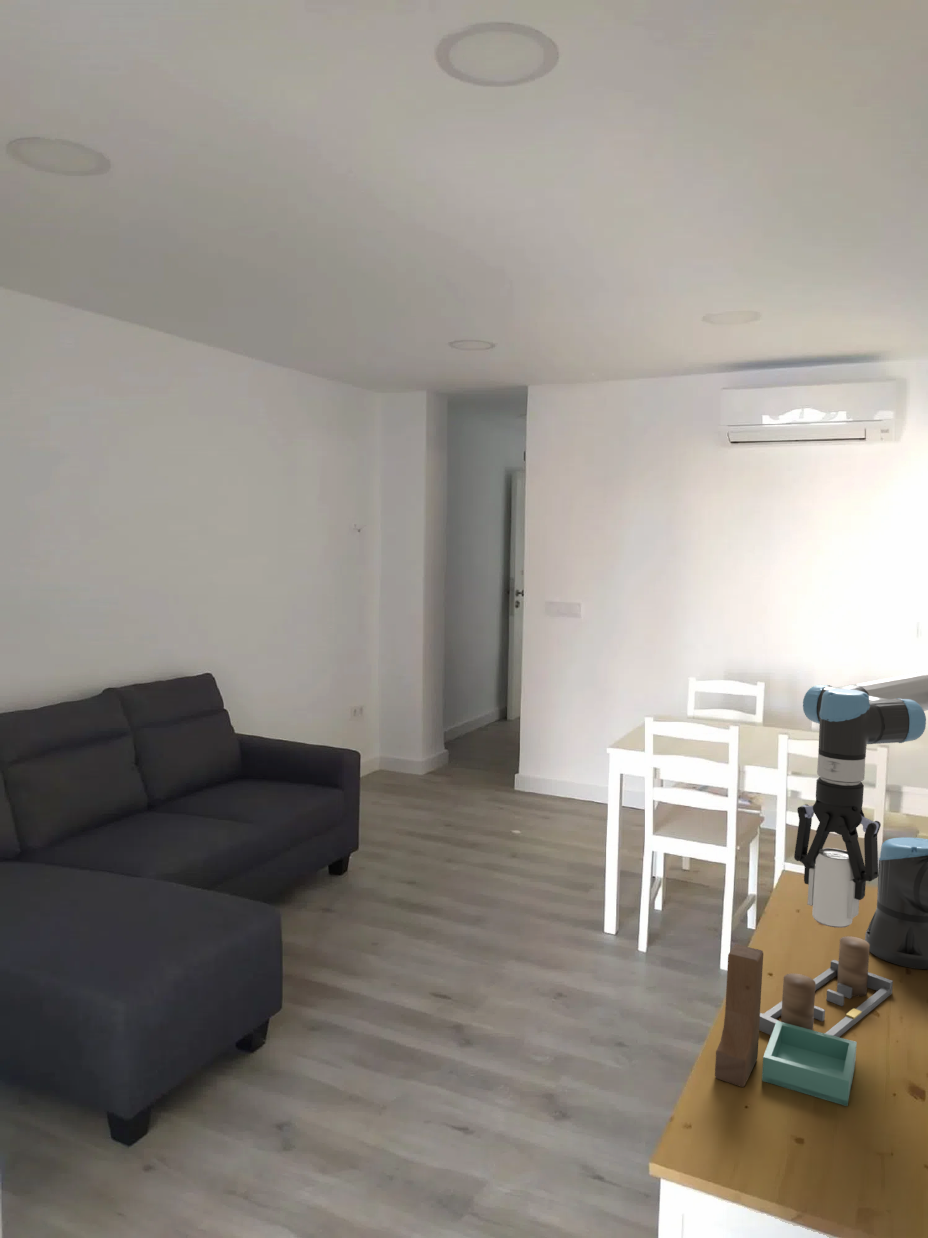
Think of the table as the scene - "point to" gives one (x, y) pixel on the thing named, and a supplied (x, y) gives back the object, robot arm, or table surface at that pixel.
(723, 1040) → the wooden block
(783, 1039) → the tray
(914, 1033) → the table surface
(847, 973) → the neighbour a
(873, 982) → the grey flat open frame
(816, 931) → the table surface
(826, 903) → the can
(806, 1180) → the table surface
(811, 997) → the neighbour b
